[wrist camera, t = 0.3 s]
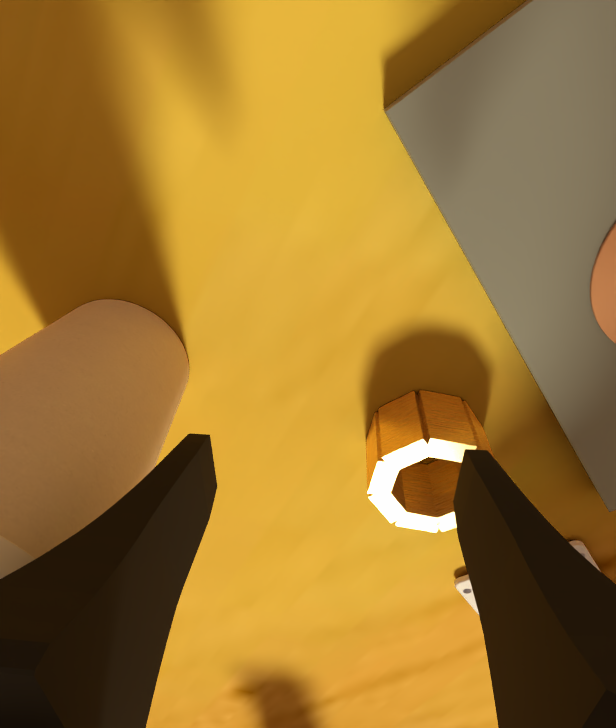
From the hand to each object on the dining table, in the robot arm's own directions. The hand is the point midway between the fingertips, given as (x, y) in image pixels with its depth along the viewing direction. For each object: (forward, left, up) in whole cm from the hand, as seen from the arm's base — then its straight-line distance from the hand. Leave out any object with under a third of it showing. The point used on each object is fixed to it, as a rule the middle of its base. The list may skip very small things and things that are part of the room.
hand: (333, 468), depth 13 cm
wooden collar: (-8, 0, -9) cm, 12 cm away
